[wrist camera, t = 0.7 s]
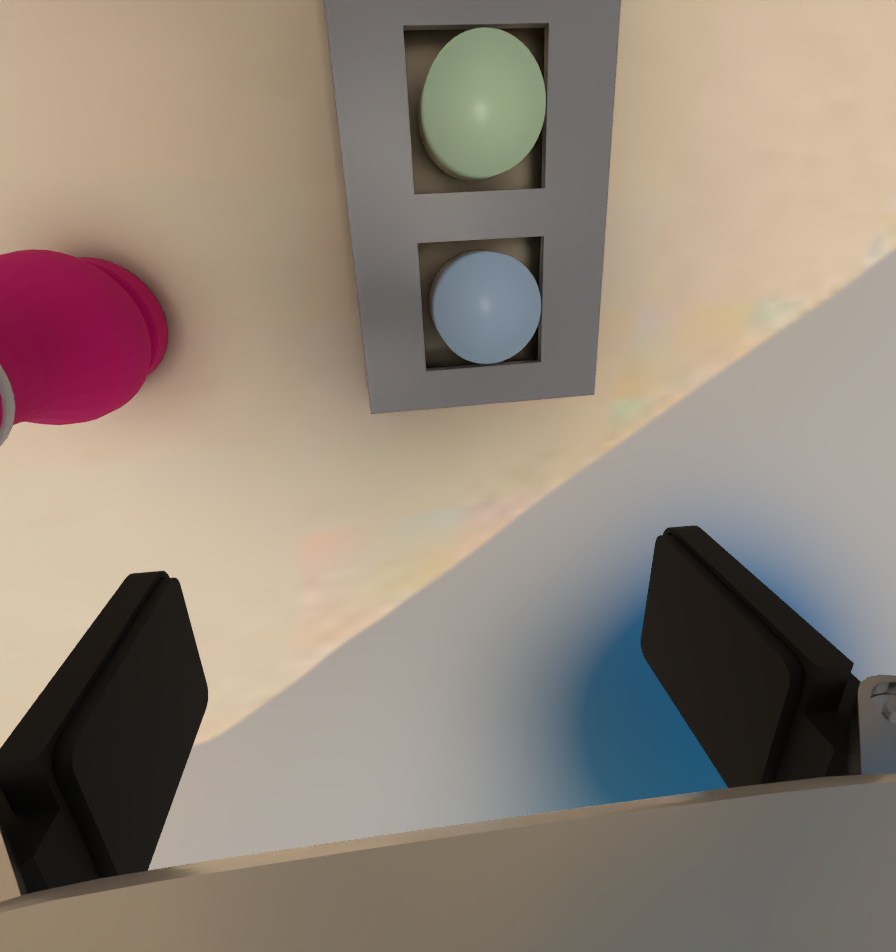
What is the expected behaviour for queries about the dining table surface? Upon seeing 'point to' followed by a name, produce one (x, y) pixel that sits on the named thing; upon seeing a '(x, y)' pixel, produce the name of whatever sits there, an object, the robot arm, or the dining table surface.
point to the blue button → (485, 305)
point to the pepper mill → (72, 338)
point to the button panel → (475, 196)
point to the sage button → (481, 104)
